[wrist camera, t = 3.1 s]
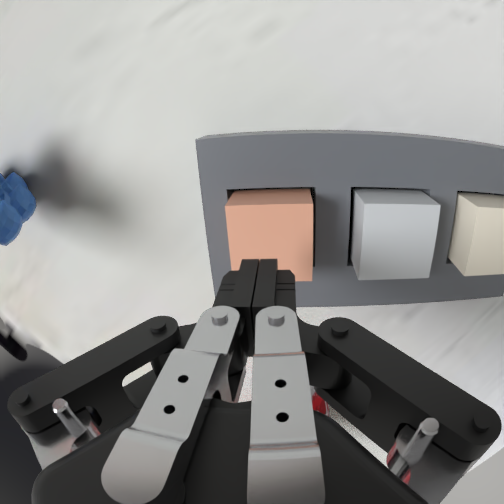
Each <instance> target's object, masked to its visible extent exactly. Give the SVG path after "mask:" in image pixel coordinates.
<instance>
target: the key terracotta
mask: <svg viewBox="0 0 504 504" xmlns="http://www.w3.org/2000/svg"><path fill="white" fill-rule="evenodd" d="M225 212H226V222H227V232H228V242H229V251H230V260H231V270H232V271H234V270H239V268H240V264H241V261H242V259H259V260H260V259H277V260H278V270H291V272H292V273H293V274H294V275H295V281H312V271H313V201H312V197H311V193H310V189H266V190H239V191H234V192H233V194H232V195H231V197H230V198H229V200H228V202H227V203H226V205H225Z"/></svg>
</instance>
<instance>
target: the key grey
mask: <svg viewBox="0 0 504 504" xmlns="http://www.w3.org/2000/svg"><path fill="white" fill-rule="evenodd" d="M440 207H441V205H440V204H438V203H437V202H436V201H435V200H433V199H432V198H431V197H429V196H428V195H427V194H425V193H424V192H422V191H421V190H402V189H353V211H352V231H351V248H350V258H351V261H352V263H353V266H354V269H355V272H356V275H357V278H358V280H386V279H415V278H429V274H430V269H431V264H432V259H433V253H434V248H435V242H436V236H437V229H438V222H439V215H440Z"/></svg>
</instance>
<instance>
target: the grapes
mask: <svg viewBox="0 0 504 504" xmlns="http://www.w3.org/2000/svg"><path fill="white" fill-rule="evenodd" d="M35 208H36V199H35V197H34V196H33V194H32V193H31V192H30V191H29V190H28V186H27V184H26V183H25V181H24V180H23V178H21V177H20V176H19V175H18V174H16V173H15V172H12V173H11V174H10V175H9V176H8V177H7V178H6V179H4V177H3V175H2V174H1V173H0V244H1V245H5V246H7V245H8V244H9V243H11V242H12V241H13V240H14V239H15V238H16V237H17V236H18V234H19V232H20V230H21V227H22V224H23V223H24V222H25V221H27V220H28V219H29V218H30V217H31V216H32V215H33V213H34V211H35Z"/></svg>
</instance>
